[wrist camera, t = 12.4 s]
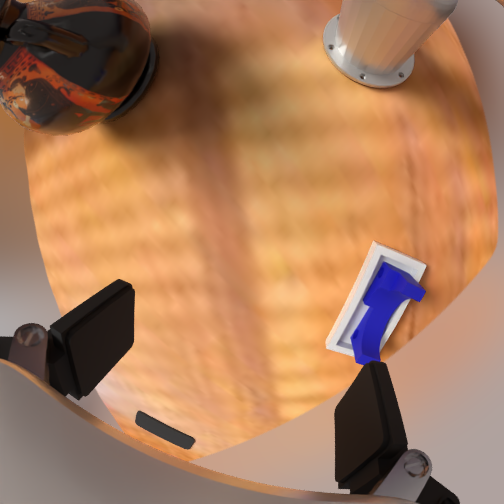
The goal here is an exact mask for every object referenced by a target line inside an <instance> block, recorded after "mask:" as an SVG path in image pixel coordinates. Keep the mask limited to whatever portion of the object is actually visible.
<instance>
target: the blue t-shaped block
mask: <svg viewBox="0 0 504 504" xmlns="http://www.w3.org/2000/svg"><path fill="white" fill-rule="evenodd" d="M425 292H426V291H425V290H424V288H423V287H422V286H421V285H420V284H419V283H418V282H417V281H416V280H415V279H414V278H413V277H412V276H411V275H410V274H409V273H407V272H405V271H403V270H401V269H399V268H397V267H395V266H393V265H391V264H389V263H387V262H385V261H383V263H382V265H381V267H380V269H379V271H378V272H377V274H376V276H375V278H374V280H373V282H372V284H371V285H370V287H369V289H368V291H367V293H366V294H365V296H364V298H363V302H364V304H365V305H367V306H369V308H368V310H367V312H366V313H365V315H364V317H363V318H362V320H361V321H360V323H359V325H358V326H357V328H356V329H355V331H354V332H353V334H352V335H351V337H350V339H351V343H352V347H353V352H354V356H355V360H356V363H358V364H361V365H365V364H366V363H369V362H370V361H372V360H374V361H379V362H380V361H381V359H380V353H379V352H380V342H381V338H382V334H383V331H384V329H385V326H386V324H387V322H388V320H389V318H390V316H391V315H392V313H393V312H394V311H395V309H396V308H397V307H398V306H399V305H400V304H401V303H402V302H404V301H405V300H408V299H414V300H416V301H418V302H420V301H421V299H422V298H423V296H424V294H425Z"/></svg>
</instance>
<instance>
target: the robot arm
mask: <svg viewBox="0 0 504 504" xmlns="http://www.w3.org/2000/svg"><path fill="white" fill-rule="evenodd" d="M496 1H497V2H498V3H500V4H501V5H502V6H503V7H504V0H496ZM457 3H458V0H343V1H342V6H341V11H340V14H338V15H336V16H335V17H333V18H332V19H331V20H330V21H329V22H328V23H327V25H326V27H325V29H324V34H323V45H324V49H325V52H326V54H327V56H328V58H329V59H330V61H331V62H332V64H333V65H334V66H335V67H336V68H337V69H338V70H339V71H340V72H342V73H343V74H344V75H345V76H347V77H349V78H350V79H352V80H353V81H356V82H358V83H360V84H363V85H366V86H370V87H376V88H389V87H393V86H396V85H398V84H400V83H402V82H403V81H405V80H406V79H407V78H408V77H409V76H410V74H411V73H412V70H413V68H414V63H415V59H414V53H415V52H416V51H417V50H418V49H419V47H420V46H421V45H422V44H423V43H424V42H425V41H426V40H427V39H428V38H429V37H430V36H431V35H432V34H433V33H434V32H435V31H436V30H437V29H438V28H439V27H440V25H441V24H442V23H443V22H444V21H445V20H446V19H447V18H448V17H449V16H450V15H451V14H452V13H453V11H454V10H455V8H456V6H457ZM330 49H332V50H330ZM399 76H400V77H401V78H400V77H399ZM360 77H362V78H363V79H361V78H360ZM134 304H135V290H134V289H133V288H132V285H131V284H130V283H128V282H125V281H123V280H121V279H118V280H116V281H114V282H113V283H111V284H110V285H108V286H107V287H105V288H104V289H102V290H101V291H99V292H98V293H96V294H95V295H93V296H92V297H90V298H89V299H87V300H86V301H84V302H83V303H82V304H80V305H79V306H77V307H76V308H74V309H73V310H71V311H70V312H69V313H67V314H66V315H64V316H63V317H62V318H60V319H59V320H57V321H56V322H55V323H53V324H52V325H50V330H48V331H46V329H45V328H44V327H43V326H41V325H39V324H35V323H29V324H25V325H22V326H21V327H19V328H18V329H17V330H16V331H15V333H14V336H13V337H0V504H460V502H459V499H458V497H457V496H456V495H455V494H454V493H452V492H451V491H450V490H448V489H447V488H445V487H444V486H443V485H442V484H440V483H439V482H437V481H436V480H435V479H434V478H432V477H431V476H430V475H431V471H432V463H431V460H430V459H429V457H428V456H427V455H426V454H425V453H424V452H422V451H420V450H417V449H410V450H408V448H407V444H408V442H407V438H406V433H405V429H404V425H403V421H402V417H401V413H400V409H399V406H398V402H397V398H396V395H395V391H394V388H393V384H392V381H391V378H390V375H389V371H388V368H387V365H386V363H384V362H379V361H374V360H372V361H370V362H369V363H366V364H365V365H364V366H363V368H362V369H361V371H360V372H359V374H358V376H357V377H356V379H355V380H354V382H353V383H352V385H351V386H350V388H349V389H348V391H347V392H346V394H345V395H344V396H343V398H342V399H341V401H340V402H339V403H338V405H337V406H336V409H335V413H334V417H335V480H336V482H338V488H339V489H350V494H335V493H322V492H313V491H304V490H296V489H289V488H283V487H277V486H271V485H267V484H262V483H257V482H253V481H249V480H244V479H240V478H237V477H233V476H229V475H226V474H222V473H219V472H216V471H212V470H209V469H206V468H203V467H200V466H197V465H195V464H192V463H189V462H186V461H184V460H181V459H179V458H176V457H174V456H171V455H169V454H166V453H164V452H162V451H160V450H157V449H155V448H153V447H151V446H149V445H146V444H144V443H142V442H140V441H138V440H136V439H134V438H132V437H130V436H128V435H126V434H125V433H123V432H121V431H119V430H117V429H115V428H113V427H112V426H110V425H108V424H106V423H105V422H103V421H102V420H100V419H98V418H97V417H95V416H93V415H92V414H90V413H89V412H87V411H86V410H84V409H83V408H81V407H79V406H78V405H76V404H75V403H73V402H72V401H71V400H69V399H68V398H66V397H65V396H66V395H67V394H68V393H69V394H70V395H71V396H73V397H74V398H76V399H77V400H80V398H82V396H87V395H89V393H90V392H91V391H92V390H93V389H94V388H95V387H96V386H97V385H98V383H99V382H100V381H101V380H102V379H103V378H104V377H105V376H106V375H107V373H108V372H109V371H110V370H111V369H112V368H113V367H114V366H115V365H116V364H117V362H118V361H119V360H120V359H121V358H122V357H123V356H124V355H125V354H126V353H127V352H128V350H129V349H130V348H131V347H132V345H133V343H134Z"/></svg>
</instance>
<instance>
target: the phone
mask: <svg viewBox="0 0 504 504" xmlns="http://www.w3.org/2000/svg"><path fill="white" fill-rule="evenodd" d="M135 423H136V424H137V425H138V426H140V427H142V428H143V429H145V430H147V431H149V432H151V433H153V434H155V435H157V436H159V437H161V438H163V439H165V440H167V441H169V442H171V443H173V444H175V445H177V446H179V447H182V448H184V449H190V447H191V446H192V444H193V443H194V441H195V439H194V438H193V437H191V436H189V435H187V434H184V433H182V432H180V431H178V430H176V429H174V428H172V427H170V426H168V425H166V424H164V423H162V422H160V421H158V420H157V419H155V418H153V417H151V416H149V415H147V414H146V413H144V412H142V411H138V412H137V415H136V420H135Z"/></svg>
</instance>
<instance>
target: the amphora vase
mask: <svg viewBox="0 0 504 504" xmlns="http://www.w3.org/2000/svg"><path fill="white" fill-rule="evenodd" d="M158 62H159V51H158V46H157V44H156V42H155V41H154V39H153V38H152V37H151V31H150V24H149V21H148V18H147V16H146V14H145V12H144V11H143V9H142V7H141V6H140V5H139V4H138V3H136V2H135V1H134V0H35V1H32V2H28V3H21V2H19V1H17V0H0V103H1V105H2V107H3V109H4V110H5V111H6V113H7V114H8V115H9V116H10V117H11V118H12V119H14V120H15V121H16V122H17V123H19V124H20V125H21V126H23V127H25V128H27V129H29V130H31V131H34V132H38V133H42V134H47V135H53V136H61V135H71V134H75V133H79V132H82V131H84V130H87V129H89V128H91V127H93V126H94V125H96V124H98V123H105V122H110V121H114V120H116V119H118V118H120V117H122V116H124V115H125V114H127V113H128V112H129V111H130V110H132V109H133V108H134V107H135V106H136V105H137V104H138V103H139V101H140V100H141V99H142V98H143V97H144V96H145V94H146V93H147V91H148V89H149V88H150V86H151V84H152V83H153V80H154V77H155V75H156V72H157V69H158Z"/></svg>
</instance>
